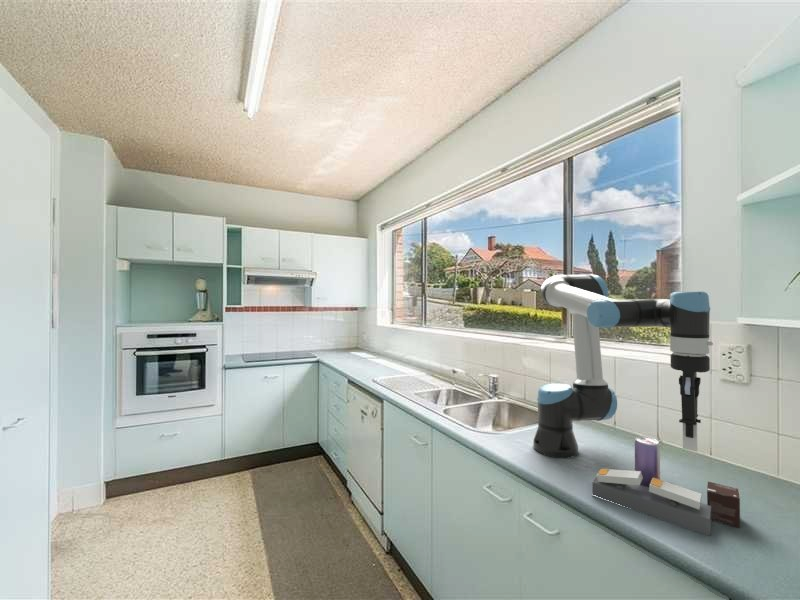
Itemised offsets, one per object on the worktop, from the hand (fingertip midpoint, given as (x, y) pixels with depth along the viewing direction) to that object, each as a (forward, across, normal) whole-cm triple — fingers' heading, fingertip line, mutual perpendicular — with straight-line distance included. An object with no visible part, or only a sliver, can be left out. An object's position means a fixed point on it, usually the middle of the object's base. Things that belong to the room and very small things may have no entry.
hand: (690, 448), depth 88 cm
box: (+19, +8, -6) cm, 21 cm away
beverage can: (+19, +9, +10) cm, 23 cm away
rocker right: (+13, 0, +3) cm, 13 cm away
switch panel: (+18, 0, +9) cm, 20 cm away
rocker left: (+13, 0, +15) cm, 20 cm away
